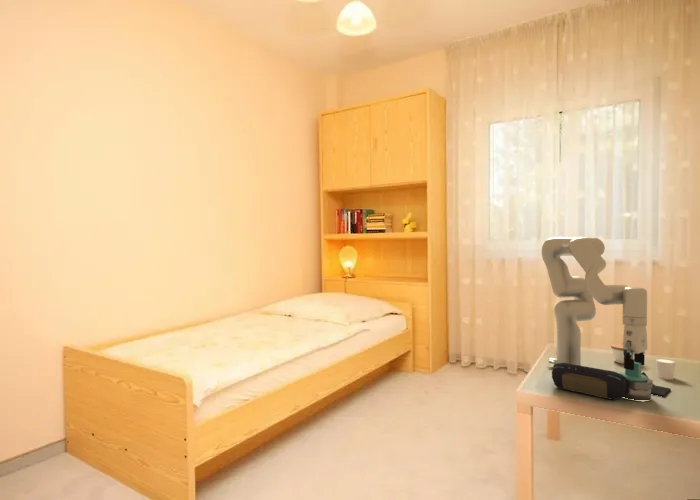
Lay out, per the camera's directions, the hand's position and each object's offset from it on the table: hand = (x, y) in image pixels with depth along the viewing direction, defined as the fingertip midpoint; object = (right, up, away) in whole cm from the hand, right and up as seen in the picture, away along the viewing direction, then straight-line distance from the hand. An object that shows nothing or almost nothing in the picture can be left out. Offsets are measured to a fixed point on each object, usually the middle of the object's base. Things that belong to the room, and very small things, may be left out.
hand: (634, 366), depth 160 cm
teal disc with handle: (0, -7, 0) cm, 7 cm away
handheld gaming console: (+12, -11, +6) cm, 18 cm away
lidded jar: (+25, -10, +45) cm, 53 cm away
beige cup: (+28, -11, +23) cm, 38 cm away
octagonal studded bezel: (0, -11, 0) cm, 11 cm away
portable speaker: (-15, -11, +4) cm, 19 cm away
